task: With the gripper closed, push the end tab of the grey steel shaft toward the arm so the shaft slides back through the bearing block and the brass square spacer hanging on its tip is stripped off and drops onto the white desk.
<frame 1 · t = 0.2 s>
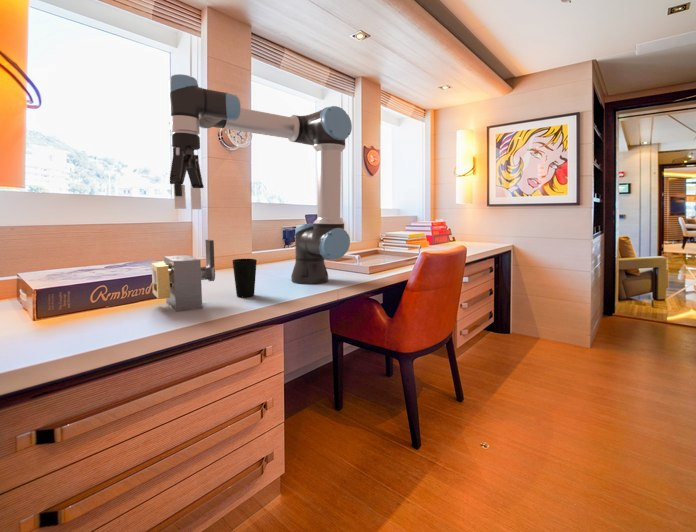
hand: (189, 209, 110), 28 cm above the table, fingers open, 13 cm apart
shaft: (183, 262, 109), point 13 cm above the table, slide at 0.0 cm, touching spacer
bearing block: (183, 304, 111), on the table
spacer: (161, 295, 107), point 3 cm above the table, touching shaft
cup: (245, 296, 124), on the table
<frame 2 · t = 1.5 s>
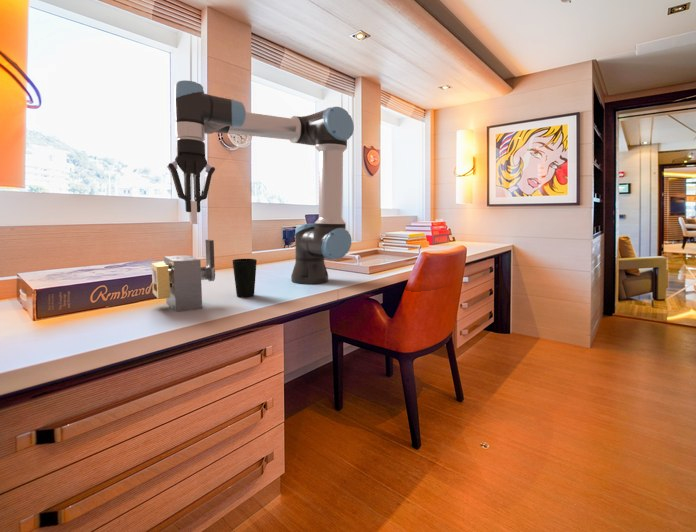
hand: (193, 223, 110), 24 cm above the table, fingers closed
nothing on the table moved.
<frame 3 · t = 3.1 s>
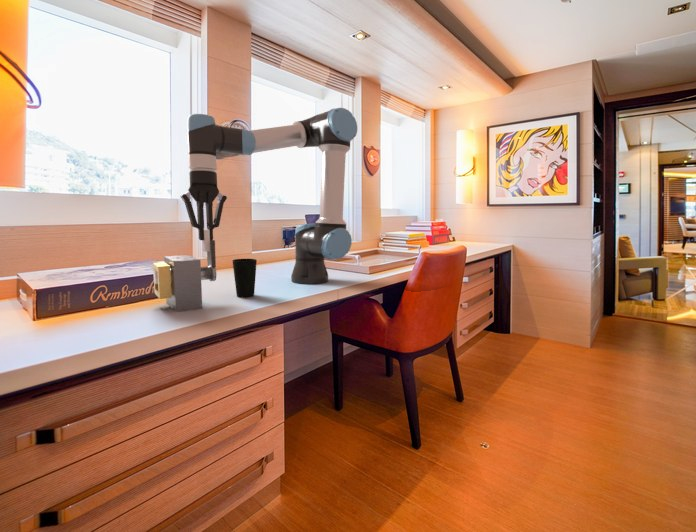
hand: (206, 251, 113), 16 cm above the table, fingers closed
shaft: (185, 262, 110), point 13 cm above the table, slide at 0.4 cm, touching gripper, spacer
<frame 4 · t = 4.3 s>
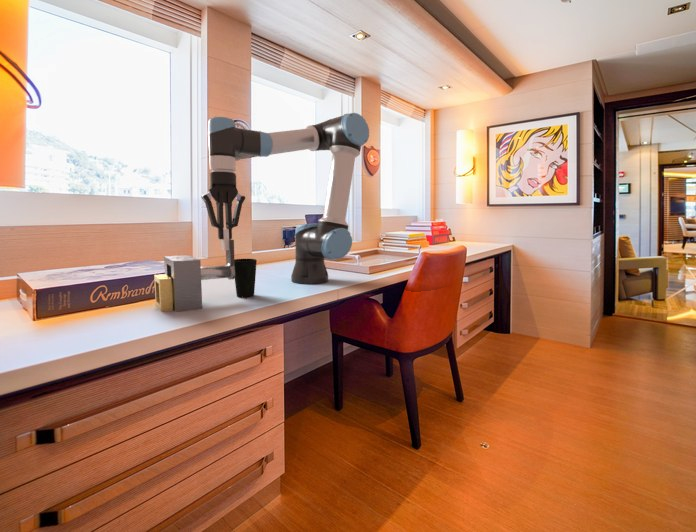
hand: (225, 249, 116), 16 cm above the table, fingers closed
shaft: (205, 261, 113), point 13 cm above the table, slide at 6.1 cm, touching gripper
spacer: (164, 307, 108), on the table
everything else where it was.
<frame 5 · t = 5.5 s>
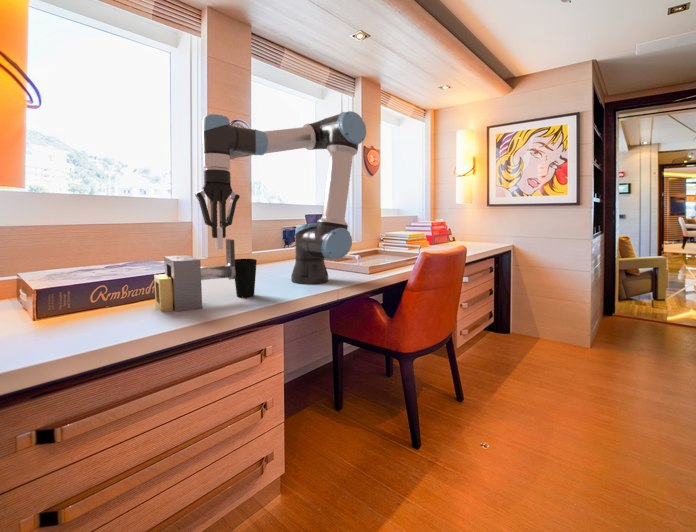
hand: (219, 248, 115), 16 cm above the table, fingers closed
shaft: (205, 261, 113), point 13 cm above the table, slide at 6.2 cm
everything else where it was.
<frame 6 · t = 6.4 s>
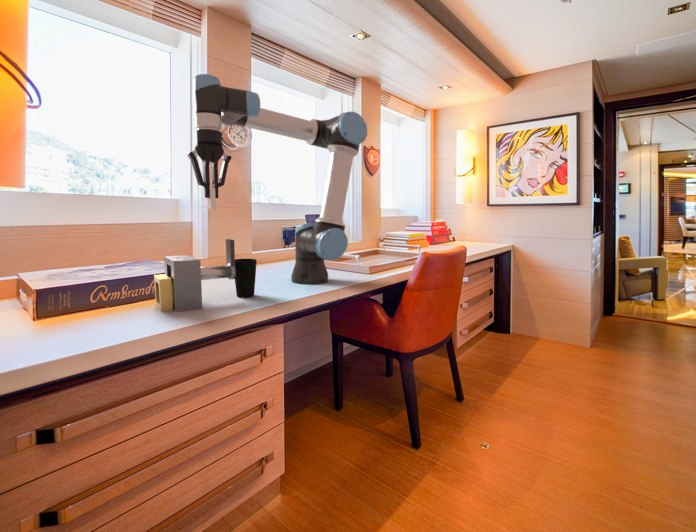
hand: (212, 209, 117), 28 cm above the table, fingers closed
nothing on the table moved.
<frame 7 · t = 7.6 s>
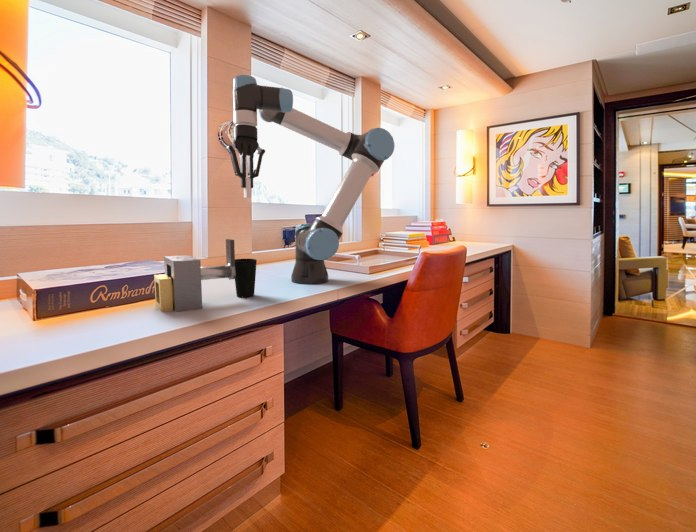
hand: (247, 197, 128), 32 cm above the table, fingers closed
nothing on the table moved.
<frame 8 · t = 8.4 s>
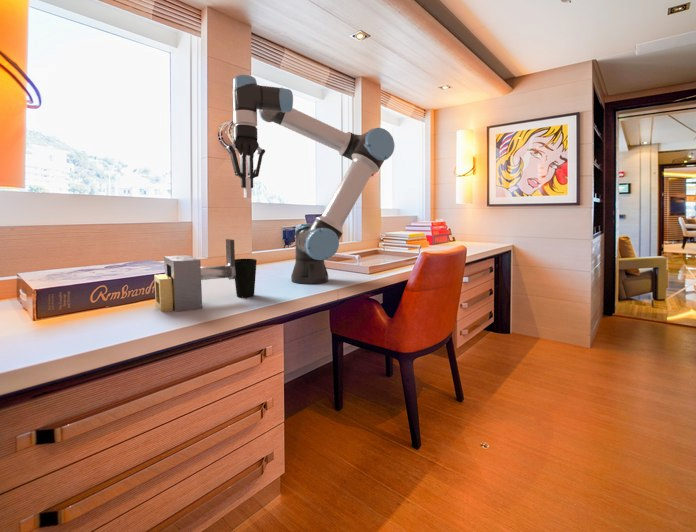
hand: (247, 197, 128), 32 cm above the table, fingers closed
nothing on the table moved.
at the end: shaft slide at 6.2 cm; spacer touching table; spacer on the table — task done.
